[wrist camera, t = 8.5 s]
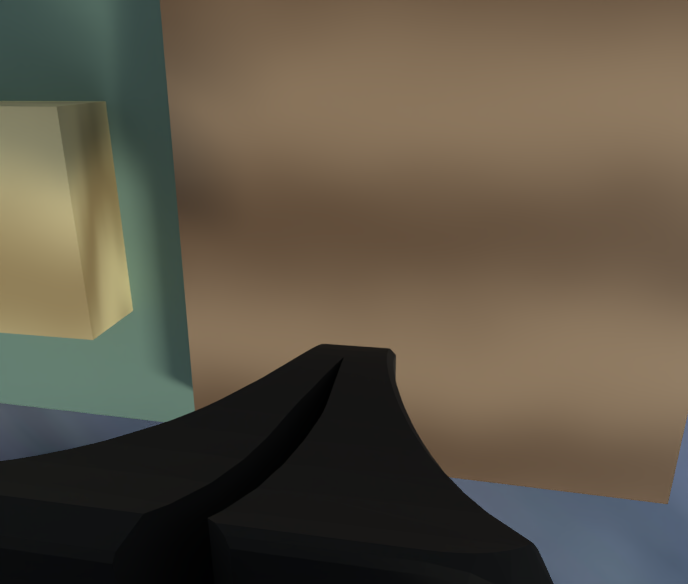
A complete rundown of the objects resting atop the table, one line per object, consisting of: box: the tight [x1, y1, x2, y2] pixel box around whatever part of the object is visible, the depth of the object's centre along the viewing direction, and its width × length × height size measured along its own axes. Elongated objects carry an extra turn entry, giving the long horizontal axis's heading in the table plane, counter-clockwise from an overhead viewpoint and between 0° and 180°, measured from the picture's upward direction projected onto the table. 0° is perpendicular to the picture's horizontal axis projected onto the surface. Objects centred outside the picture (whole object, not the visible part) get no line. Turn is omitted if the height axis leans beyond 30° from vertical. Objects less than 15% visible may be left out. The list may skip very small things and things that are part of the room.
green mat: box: [0, 0, 195, 422], centre depth 22 cm, size 16×12×1 cm
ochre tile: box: [0, 101, 133, 340], centre depth 20 cm, size 7×5×2 cm
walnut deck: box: [160, 0, 688, 504], centre depth 18 cm, size 14×14×3 cm
